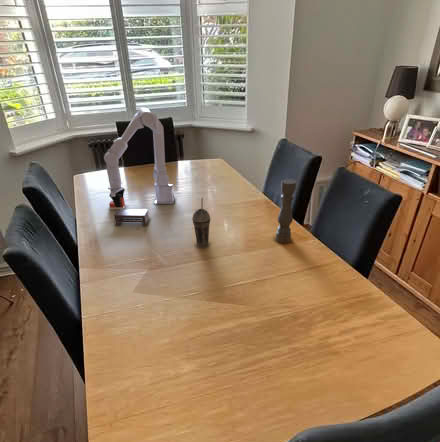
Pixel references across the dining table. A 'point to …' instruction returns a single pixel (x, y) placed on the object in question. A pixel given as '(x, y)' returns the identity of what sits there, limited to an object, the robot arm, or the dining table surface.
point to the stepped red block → (112, 206)
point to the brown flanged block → (131, 216)
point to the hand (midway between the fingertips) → (119, 205)
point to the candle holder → (285, 211)
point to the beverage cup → (201, 226)
